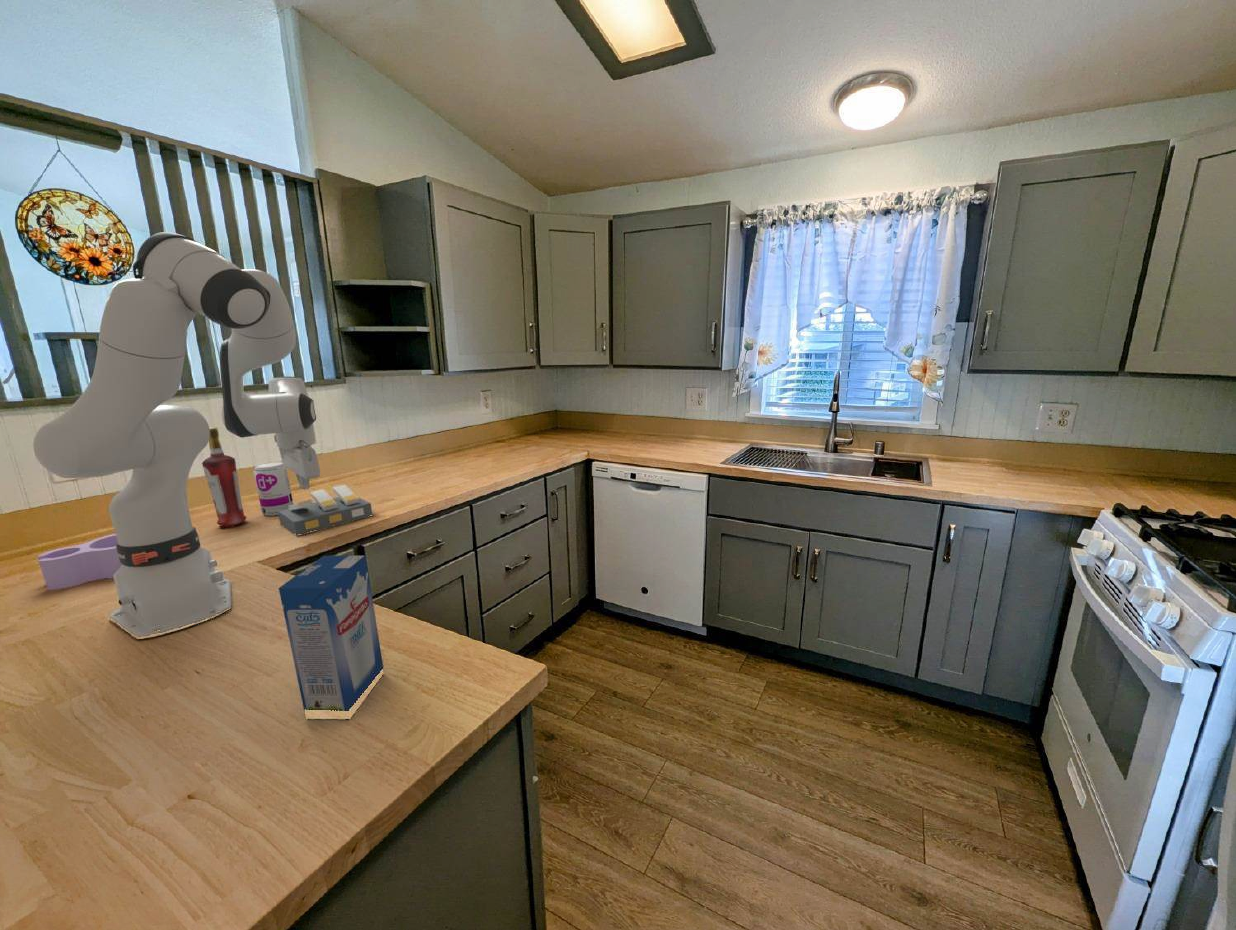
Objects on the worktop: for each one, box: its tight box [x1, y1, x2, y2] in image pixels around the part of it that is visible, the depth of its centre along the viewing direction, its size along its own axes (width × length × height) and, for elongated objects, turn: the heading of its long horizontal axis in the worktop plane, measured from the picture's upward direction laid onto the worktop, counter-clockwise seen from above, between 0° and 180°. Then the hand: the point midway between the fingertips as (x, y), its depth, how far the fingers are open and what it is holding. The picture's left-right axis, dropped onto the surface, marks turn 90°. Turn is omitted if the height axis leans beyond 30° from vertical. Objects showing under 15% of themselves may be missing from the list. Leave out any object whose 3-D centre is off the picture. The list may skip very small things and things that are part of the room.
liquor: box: [201, 427, 248, 528], centre depth 143 cm, size 7×7×28 cm
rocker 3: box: [332, 484, 360, 505], centre depth 151 cm, size 10×4×1 cm, turn 49°
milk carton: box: [278, 554, 384, 711], centre depth 72 cm, size 10×6×20 cm, turn 178°
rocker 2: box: [310, 488, 338, 511], centre depth 147 cm, size 10×4×1 cm, turn 48°
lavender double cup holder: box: [37, 533, 122, 591], centre depth 118 cm, size 20×12×7 cm, turn 140°
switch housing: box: [278, 496, 373, 536], centre depth 148 cm, size 14×20×5 cm
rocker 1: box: [289, 499, 314, 510], centre depth 142 cm, size 10×4×1 cm, turn 47°
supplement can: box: [253, 461, 294, 517], centre depth 154 cm, size 8×8×15 cm
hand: (304, 488), depth 138 cm, fingers closed
